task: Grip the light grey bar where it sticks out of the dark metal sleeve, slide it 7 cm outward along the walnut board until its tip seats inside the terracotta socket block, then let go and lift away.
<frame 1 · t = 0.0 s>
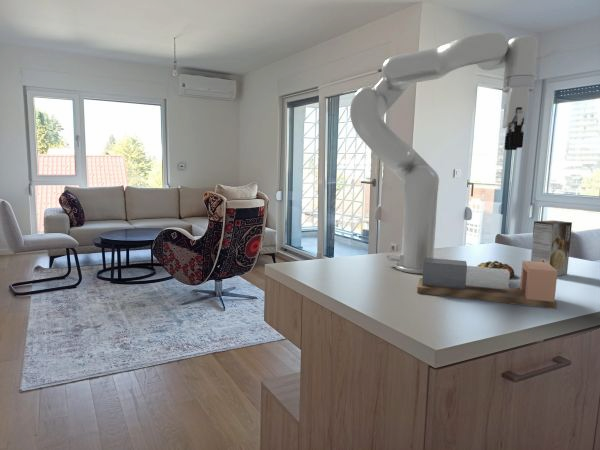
hand: (512, 148, 118), 37 cm above the worktop, tool pointing down, fingers open, 9 cm apart
light grey bar: (466, 275, 104), point 4 cm above the worktop, slide at 0.0 cm
base board: (481, 294, 104), on the worktop
sleeve: (443, 290, 107), resting on base board
coffee box: (547, 274, 129), on the worktop
socket block: (535, 300, 100), resting on base board
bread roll: (493, 275, 126), on the worktop
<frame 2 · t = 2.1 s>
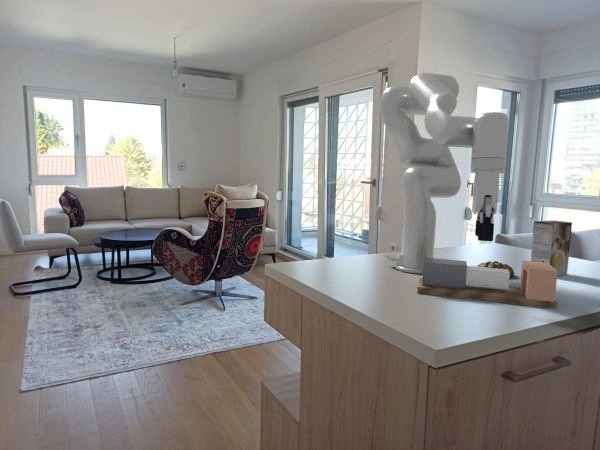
hand: (483, 238, 102), 14 cm above the worktop, tool pointing down, fingers open, 9 cm apart
nothing on the worktop moved.
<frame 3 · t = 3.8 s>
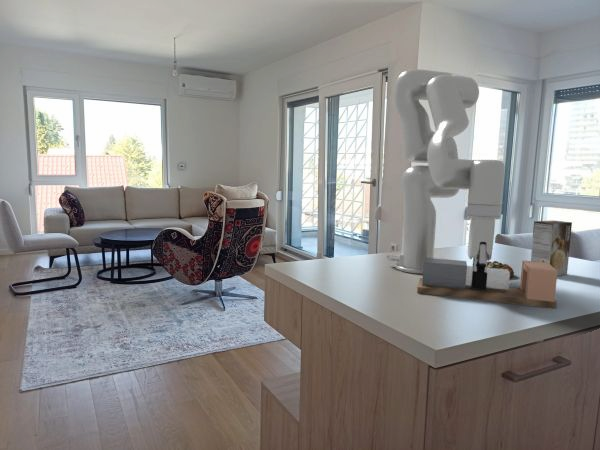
hand: (478, 285, 104), 2 cm above the worktop, tool pointing down, fingers closed on light grey bar, 4 cm apart
light grey bar: (466, 275, 104), point 4 cm above the worktop, slide at 0.0 cm, touching gripper
everything else where it was.
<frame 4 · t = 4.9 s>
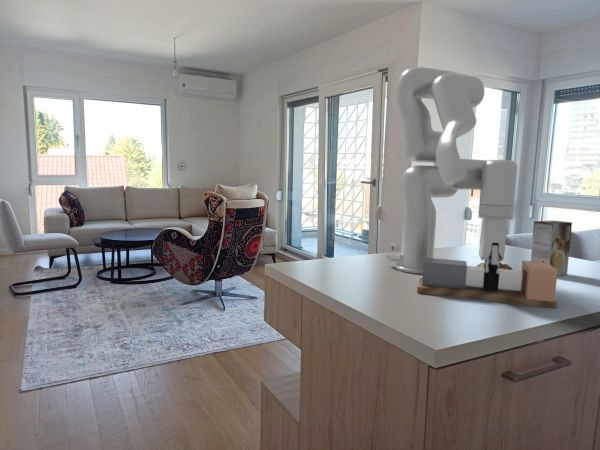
hand: (489, 286, 103), 2 cm above the worktop, tool pointing down, fingers closed on light grey bar, 4 cm apart
light grey bar: (478, 276, 103), point 4 cm above the worktop, slide at 2.6 cm, touching gripper
everything else where it was.
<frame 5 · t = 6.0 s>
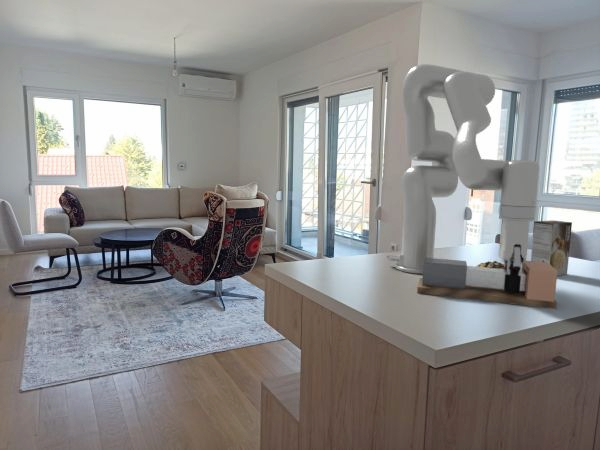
hand: (510, 288, 101), 2 cm above the worktop, tool pointing down, fingers closed on light grey bar, 4 cm apart
light grey bar: (498, 278, 102), point 4 cm above the worktop, slide at 7.2 cm, touching gripper
everything else where it was.
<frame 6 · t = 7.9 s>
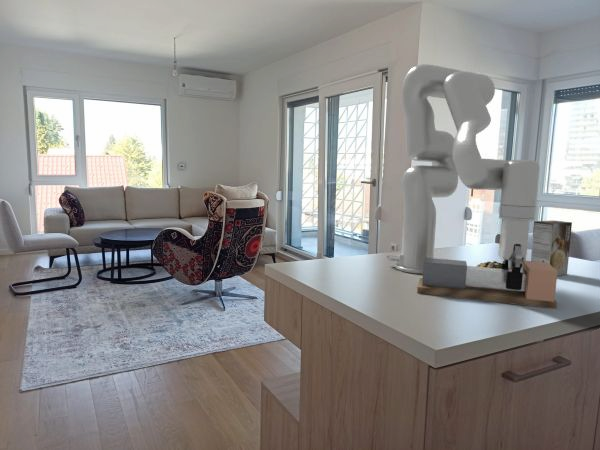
hand: (510, 284, 101), 3 cm above the worktop, tool pointing down, fingers open, 9 cm apart
light grey bar: (498, 278, 102), point 4 cm above the worktop, slide at 7.2 cm
everything else where it was.
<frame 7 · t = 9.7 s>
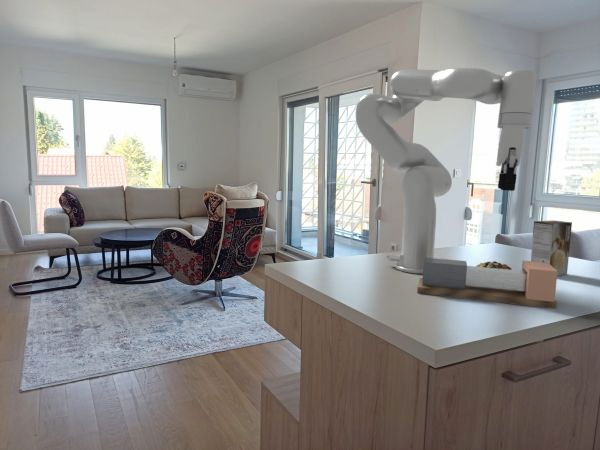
hand: (505, 189, 109), 26 cm above the worktop, tool pointing down, fingers open, 9 cm apart
nothing on the worktop moved.
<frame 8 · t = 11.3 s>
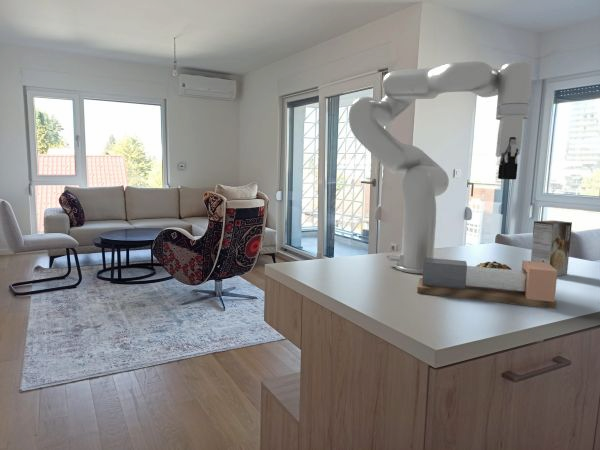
hand: (506, 179, 112), 28 cm above the worktop, tool pointing down, fingers open, 9 cm apart
nothing on the worktop moved.
at the end: light grey bar slide at 7.2 cm; the gripper is holding nothing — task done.
